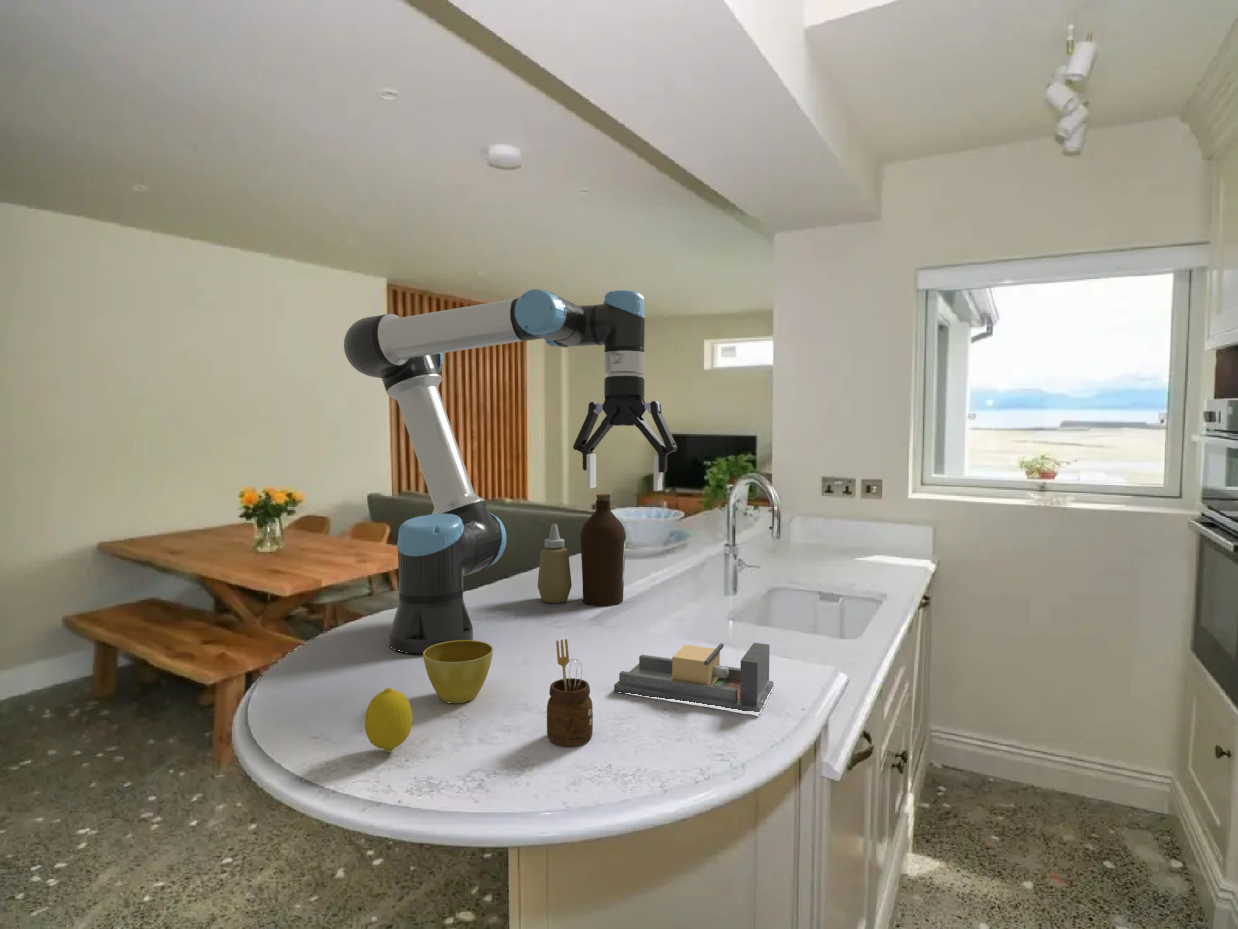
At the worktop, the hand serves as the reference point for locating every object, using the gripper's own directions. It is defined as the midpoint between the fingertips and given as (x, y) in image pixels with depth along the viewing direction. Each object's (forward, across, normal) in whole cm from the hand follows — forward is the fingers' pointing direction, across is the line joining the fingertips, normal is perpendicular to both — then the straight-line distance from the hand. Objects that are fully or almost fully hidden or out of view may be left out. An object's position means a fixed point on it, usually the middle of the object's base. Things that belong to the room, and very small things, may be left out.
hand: (624, 489), depth 129 cm
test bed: (+29, +20, -20) cm, 40 cm away
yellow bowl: (+29, -12, -36) cm, 48 cm away
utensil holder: (+29, +10, -41) cm, 51 cm away
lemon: (+29, -9, -54) cm, 62 cm away
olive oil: (+29, -16, +25) cm, 41 cm away
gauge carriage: (+27, +21, -20) cm, 40 cm away
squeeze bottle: (+29, -26, +21) cm, 44 cm away
